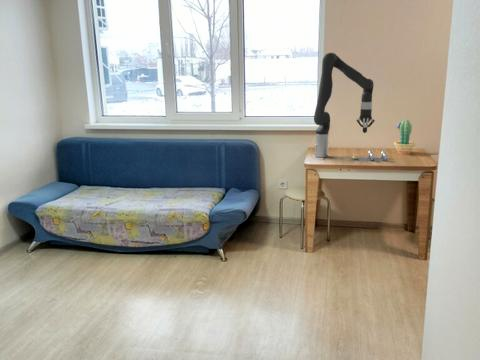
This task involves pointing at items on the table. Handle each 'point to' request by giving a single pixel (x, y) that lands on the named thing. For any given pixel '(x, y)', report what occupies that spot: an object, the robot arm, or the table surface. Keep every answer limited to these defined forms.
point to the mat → (366, 159)
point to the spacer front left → (372, 156)
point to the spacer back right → (382, 154)
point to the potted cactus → (404, 138)
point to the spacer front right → (385, 157)
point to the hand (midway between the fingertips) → (364, 132)
